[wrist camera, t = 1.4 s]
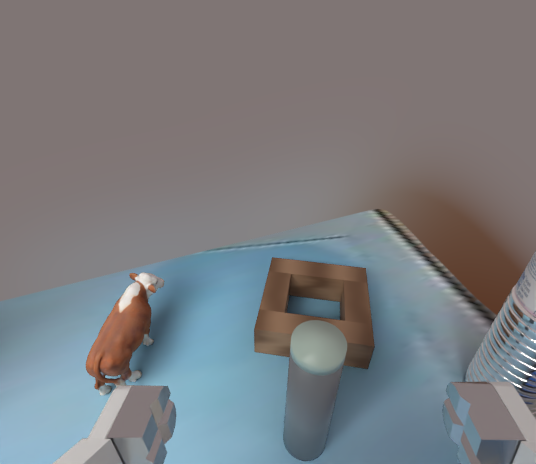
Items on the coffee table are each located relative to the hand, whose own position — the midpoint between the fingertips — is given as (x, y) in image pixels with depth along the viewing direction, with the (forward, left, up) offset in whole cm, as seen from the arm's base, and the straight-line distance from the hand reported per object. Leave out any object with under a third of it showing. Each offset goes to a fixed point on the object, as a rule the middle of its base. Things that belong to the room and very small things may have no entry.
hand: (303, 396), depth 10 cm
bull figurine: (-19, +17, -25) cm, 35 cm away
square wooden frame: (+1, +25, -24) cm, 35 cm away
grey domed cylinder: (+1, +11, -24) cm, 27 cm away
